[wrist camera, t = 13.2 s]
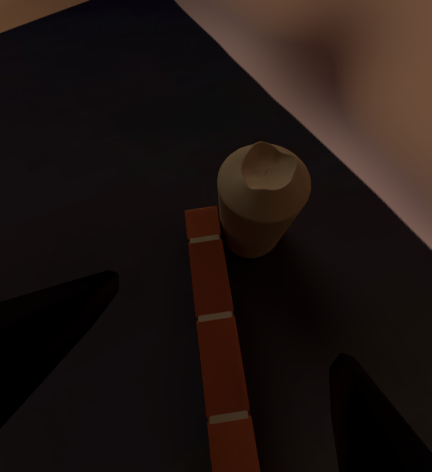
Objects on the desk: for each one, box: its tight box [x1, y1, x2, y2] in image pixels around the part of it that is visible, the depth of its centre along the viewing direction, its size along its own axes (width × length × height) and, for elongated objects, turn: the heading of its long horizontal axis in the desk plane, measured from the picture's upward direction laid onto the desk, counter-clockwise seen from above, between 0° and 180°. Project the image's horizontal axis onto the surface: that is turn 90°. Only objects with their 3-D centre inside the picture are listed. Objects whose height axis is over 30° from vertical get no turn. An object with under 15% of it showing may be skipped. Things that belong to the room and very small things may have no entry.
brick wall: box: [185, 206, 261, 472], centre depth 15 cm, size 22×3×4 cm, turn 8°
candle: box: [217, 142, 311, 258], centre depth 16 cm, size 6×6×10 cm
